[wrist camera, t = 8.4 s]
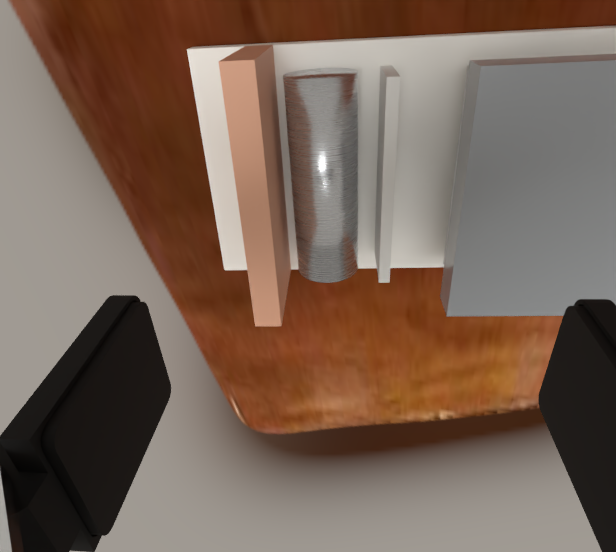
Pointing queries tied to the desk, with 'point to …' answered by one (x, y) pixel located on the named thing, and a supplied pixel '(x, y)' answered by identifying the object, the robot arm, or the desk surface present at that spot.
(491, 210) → the slab
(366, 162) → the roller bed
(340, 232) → the roller
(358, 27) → the desk surface
